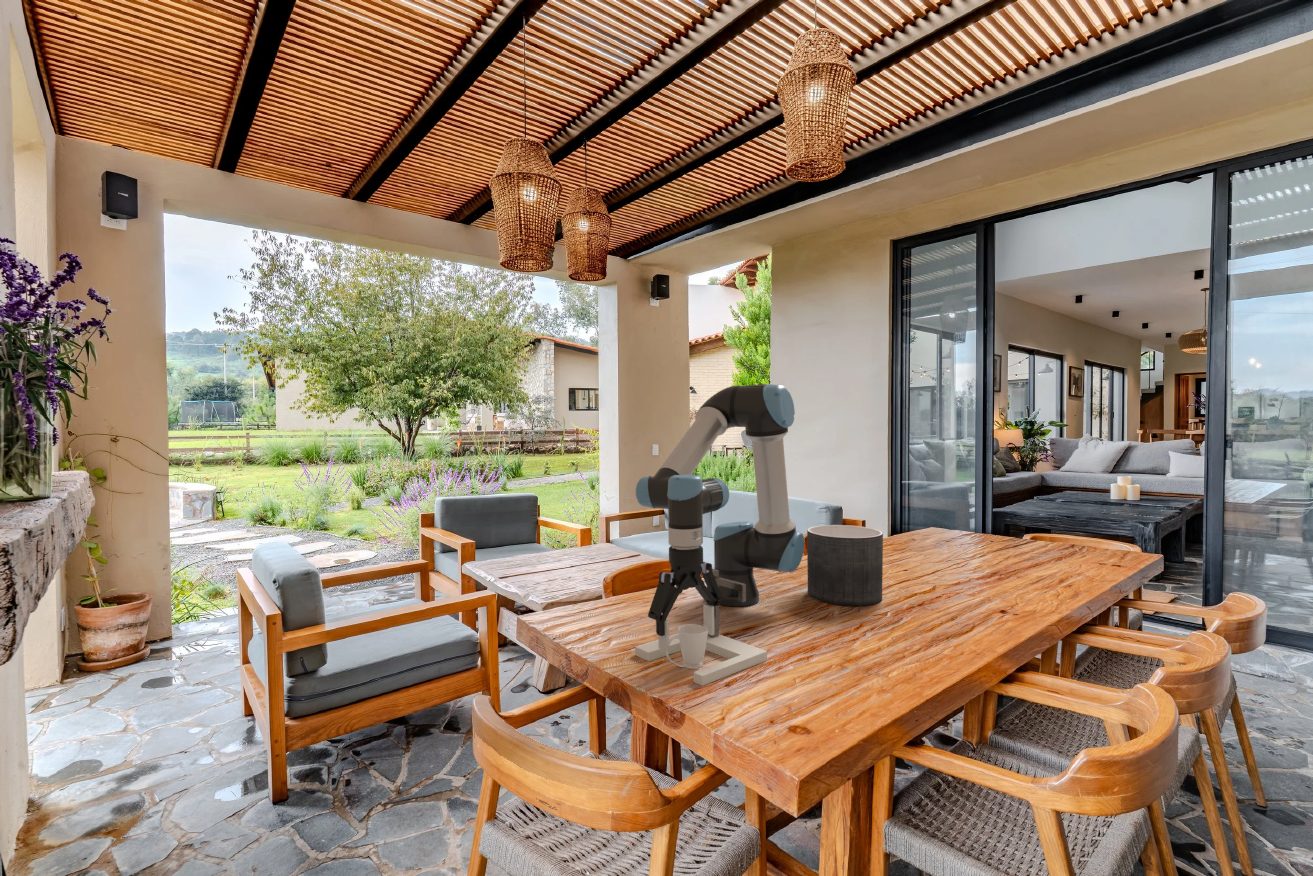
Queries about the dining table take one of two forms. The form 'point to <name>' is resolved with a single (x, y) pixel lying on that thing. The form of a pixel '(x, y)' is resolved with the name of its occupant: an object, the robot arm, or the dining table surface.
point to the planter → (845, 564)
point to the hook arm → (729, 584)
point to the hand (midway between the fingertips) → (687, 641)
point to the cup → (691, 645)
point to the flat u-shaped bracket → (726, 647)
